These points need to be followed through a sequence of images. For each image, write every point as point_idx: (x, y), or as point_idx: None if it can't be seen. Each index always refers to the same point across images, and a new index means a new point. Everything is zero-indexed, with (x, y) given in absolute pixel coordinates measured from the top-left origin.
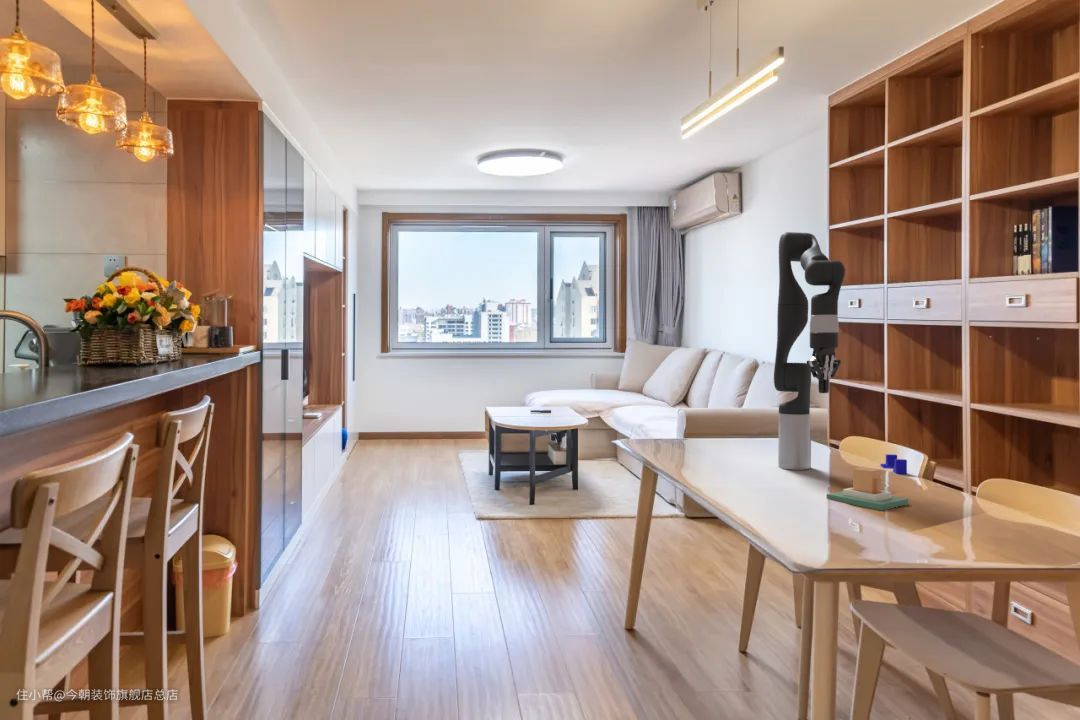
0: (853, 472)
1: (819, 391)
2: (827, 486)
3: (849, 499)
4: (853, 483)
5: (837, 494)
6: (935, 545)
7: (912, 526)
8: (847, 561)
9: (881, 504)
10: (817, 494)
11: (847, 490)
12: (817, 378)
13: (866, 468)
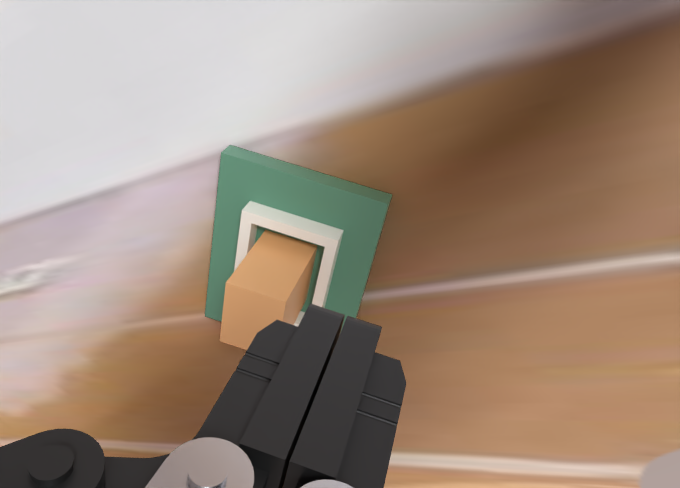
0: (231, 275)
1: (303, 316)
2: (528, 49)
3: (215, 229)
4: (248, 252)
5: (245, 183)
6: (20, 407)
7: (115, 372)
8: None
9: (205, 315)
10: (304, 82)
11: (240, 225)
12: (181, 451)
13: (267, 319)
